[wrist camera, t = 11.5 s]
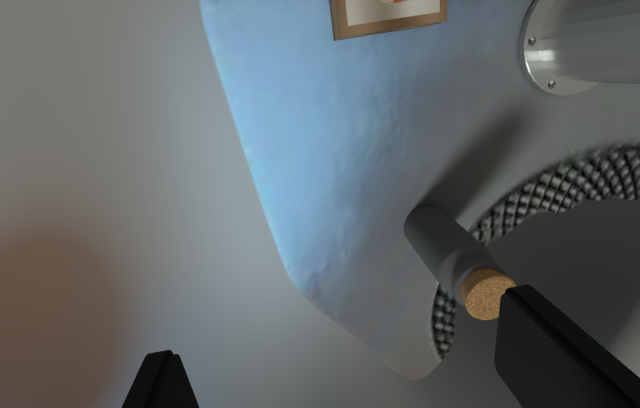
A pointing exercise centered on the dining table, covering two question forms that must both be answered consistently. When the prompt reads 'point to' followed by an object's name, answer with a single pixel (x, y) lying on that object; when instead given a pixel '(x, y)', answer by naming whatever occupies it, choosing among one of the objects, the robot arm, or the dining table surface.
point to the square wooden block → (383, 16)
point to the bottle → (457, 261)
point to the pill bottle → (393, 1)
